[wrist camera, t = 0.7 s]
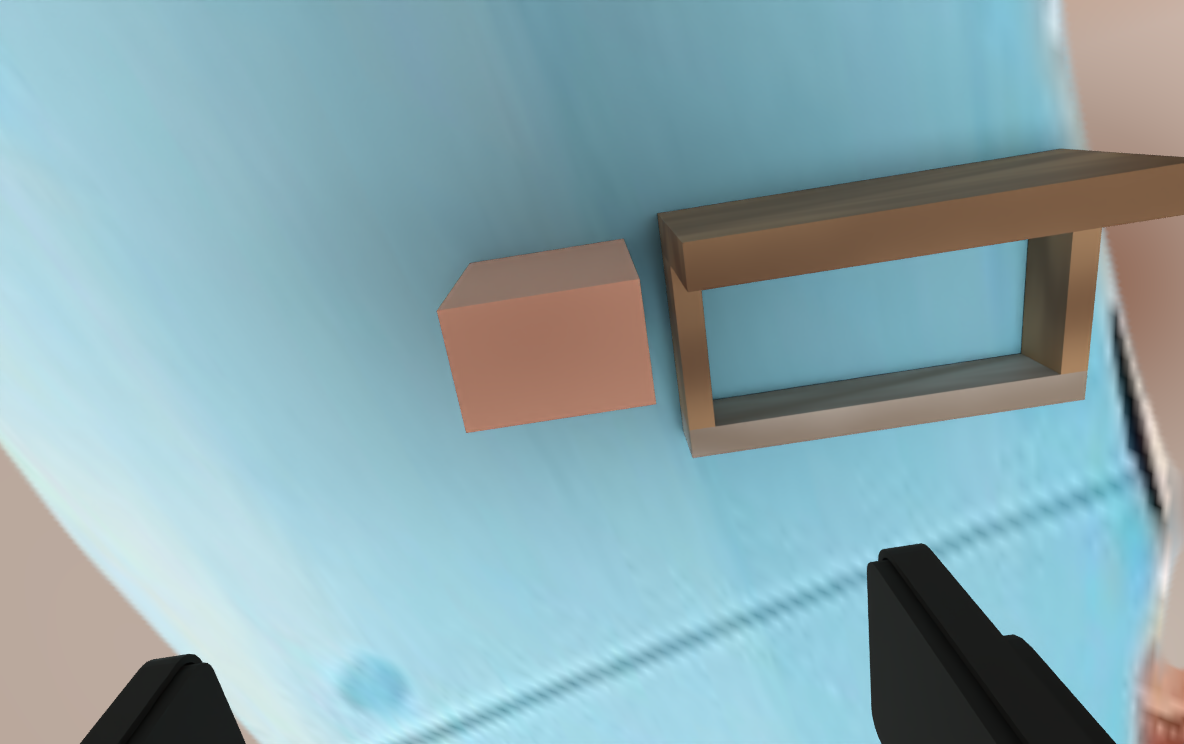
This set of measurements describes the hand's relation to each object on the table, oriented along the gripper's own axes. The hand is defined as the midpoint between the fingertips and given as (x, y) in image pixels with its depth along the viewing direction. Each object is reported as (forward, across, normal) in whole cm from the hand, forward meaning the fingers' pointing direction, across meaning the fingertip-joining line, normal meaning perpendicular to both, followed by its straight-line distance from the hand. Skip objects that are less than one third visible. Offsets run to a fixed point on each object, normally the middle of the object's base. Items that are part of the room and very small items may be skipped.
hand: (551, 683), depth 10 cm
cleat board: (+19, -12, +1) cm, 22 cm away
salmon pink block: (+19, 0, -1) cm, 19 cm away
